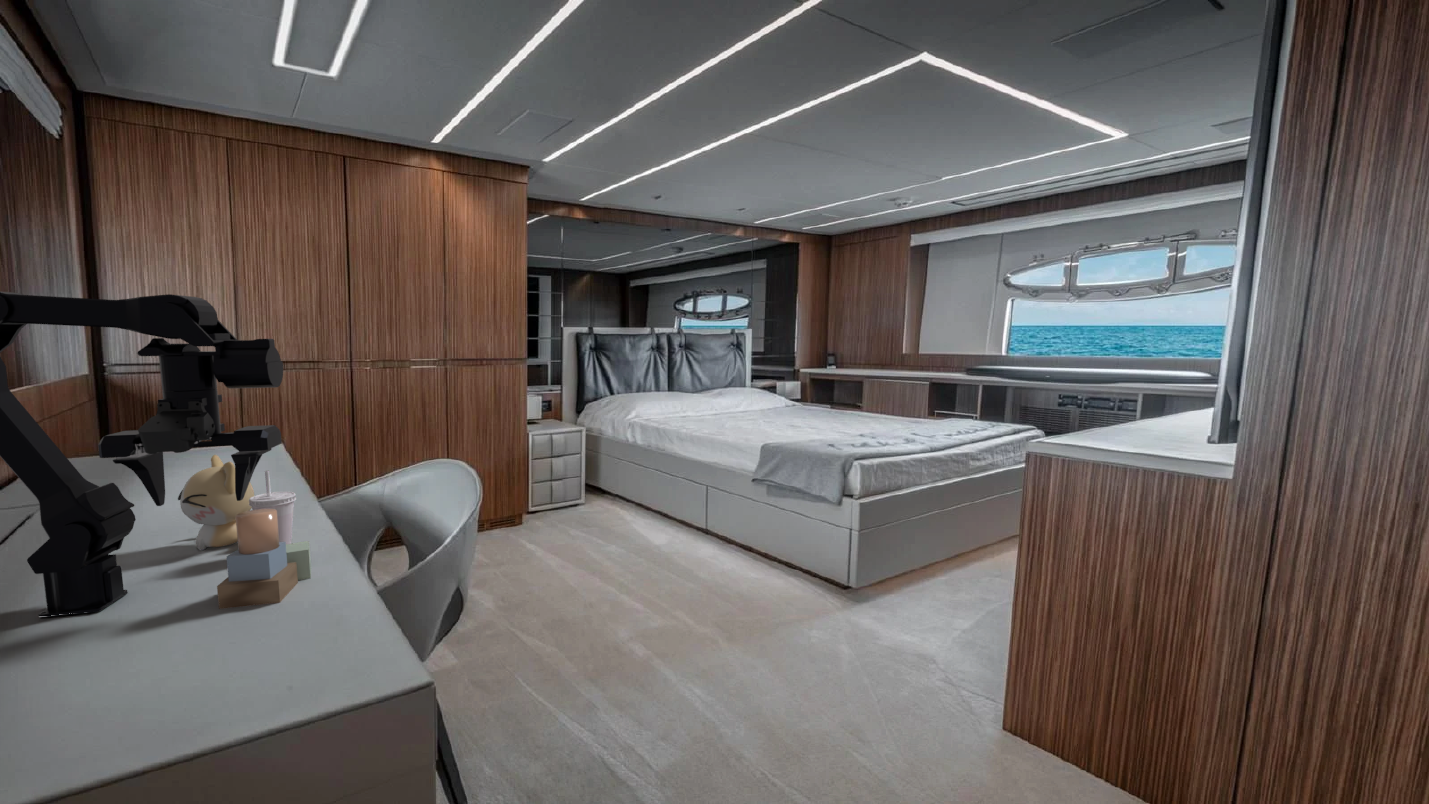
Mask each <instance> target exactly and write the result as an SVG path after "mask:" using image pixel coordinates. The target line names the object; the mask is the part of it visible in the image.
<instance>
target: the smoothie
mask: <svg viewBox="0 0 1429 804" xmlns="http://www.w3.org/2000/svg"><path fill="white" fill-rule="evenodd" d="M264 476H265V488H266V491H265V493H260V494H256V495H254V496H253V497H251V498H250V499H249V506H252V508H251V510H257V509H276V510H277V519H278V532H279V542H286V544H292V536H293V522H294V521H293V520H294V508H295V507H294V505H295V501H297V497H296V496H297V494H296V493H295V492H293V491H272V490H271V480H270V479H271V478H270V477H271V476H270V470H265V471H264Z"/></svg>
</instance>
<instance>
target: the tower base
mask: <svg viewBox="0 0 1429 804" xmlns="http://www.w3.org/2000/svg"><path fill="white" fill-rule="evenodd" d="M297 584H299V580H298V578H297V564H296V562H293V563H287V566H286V567H285V568H284V569H282V570H281V571H280V572H278V573H277V574H276V575H275V576H273V577H272V578H271V579H260V580H246V581H231V582H229V579H228V577H226V578H225V579H224V580H223V581H221V582H220V583H219V584H218V585H216V589H217V601H218V610H223V609H231V608H240V607H251V606H252V607H253V606H260V605H270V604H279V603H282V601H283V600H284V599H285V597H286V596H287V595H288V594H289V593H290V592H291V591H292V590H293V589H294V588H295V587H296V586H297Z"/></svg>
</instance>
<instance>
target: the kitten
mask: <svg viewBox="0 0 1429 804" xmlns="http://www.w3.org/2000/svg"><path fill="white" fill-rule="evenodd" d="M210 463H211V464H210V465H211V466H210V467H207V468H204V469H202V470H200V471H198V472H196V473H194V474H193V475H192V476H190V478H189V479H188V480H187V481H186V482H185V484H184V486H183V487H182V488H183V489H182V490H181V491H180V493H179V495H178V496H177V501H179V502H180V503H179V505H180V509H181V512H182V513H183V514H184V516H186V517H187V518H188V519H190V520H191V521H192V522H194V523H196V524H197V525H202V526H201V527H200V529H199V530H198V534H197V535H196V538H195V546H196V548H197V549H198V550H199V551H204V550H206V548H219V547H225V546H230V545H233V544H237V543H238V539H237V527H236V515H237V514H239V513H242V512H246V511H251V510H252V506H249V499H250V498H251V497H253V496H255V491H254V488H253V485H252V483H251V481H250V482H249V485H248V488H247V490H246V493H245V495H244V498H243V499H242V500H241V501H237V499H236V493H235V463H234V462H233V461H227V462H225V463H223V460H222V459H221V458H220V456H219V455H218V454H213V455H212V456H211V458H210Z"/></svg>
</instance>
